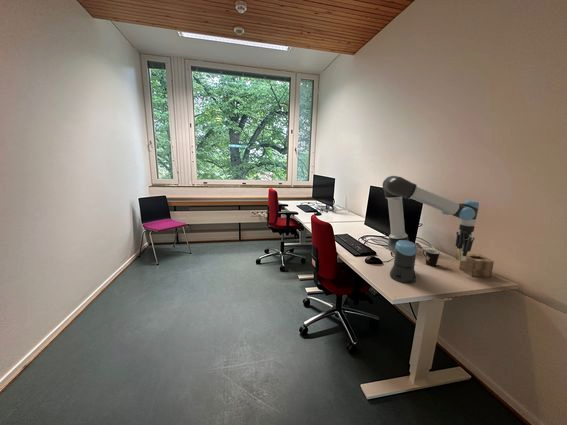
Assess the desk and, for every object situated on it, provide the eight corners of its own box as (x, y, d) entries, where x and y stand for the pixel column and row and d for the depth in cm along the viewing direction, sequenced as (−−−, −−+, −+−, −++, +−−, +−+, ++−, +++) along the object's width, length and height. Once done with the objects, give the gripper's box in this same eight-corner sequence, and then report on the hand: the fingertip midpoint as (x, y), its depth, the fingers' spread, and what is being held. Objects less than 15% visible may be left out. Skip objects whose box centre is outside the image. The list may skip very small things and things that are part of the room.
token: (458, 260, 152) (460, 252, 151) (455, 258, 155) (456, 250, 153) (466, 261, 151) (468, 252, 150) (463, 259, 154) (464, 250, 153)
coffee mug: (440, 267, 165) (442, 254, 163) (426, 266, 166) (428, 253, 165) (433, 261, 176) (434, 248, 174) (420, 260, 178) (422, 247, 176)
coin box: (471, 276, 152) (474, 260, 150) (459, 268, 163) (461, 253, 161) (490, 277, 151) (493, 261, 149) (476, 269, 163) (479, 254, 161)
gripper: (483, 228, 140) (475, 264, 145) (464, 222, 156) (458, 254, 161) (470, 227, 141) (463, 264, 145) (453, 221, 156) (446, 254, 161)
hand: (460, 259), depth 153 cm, fingers closed on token, 3 cm apart
